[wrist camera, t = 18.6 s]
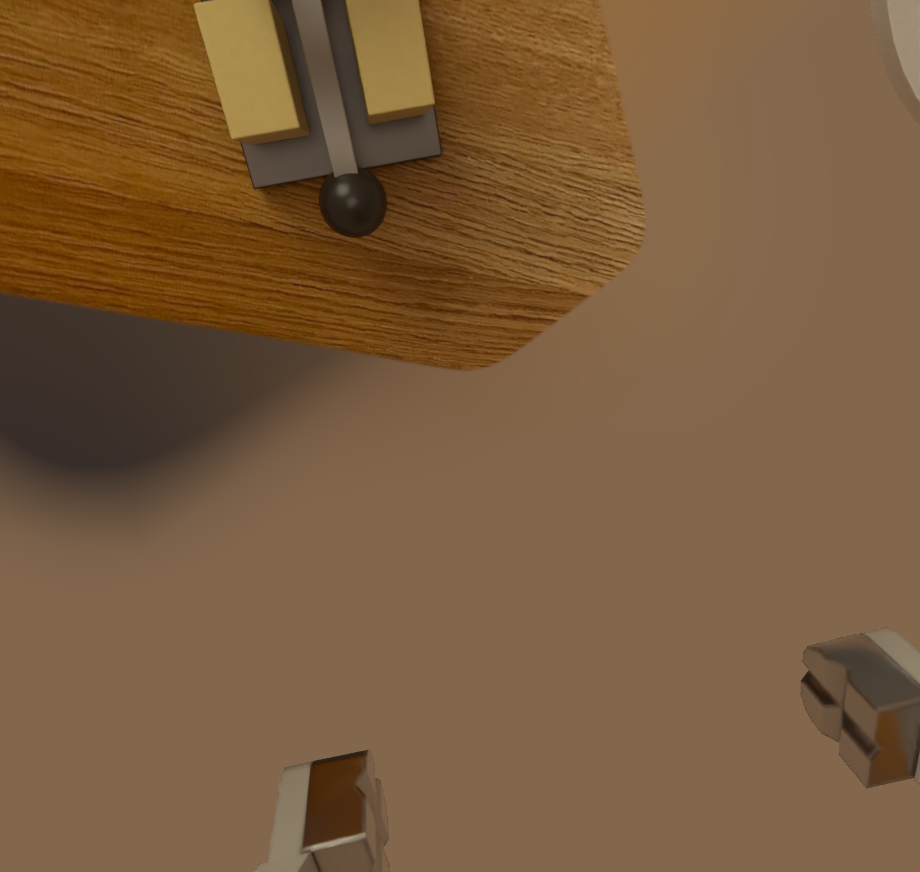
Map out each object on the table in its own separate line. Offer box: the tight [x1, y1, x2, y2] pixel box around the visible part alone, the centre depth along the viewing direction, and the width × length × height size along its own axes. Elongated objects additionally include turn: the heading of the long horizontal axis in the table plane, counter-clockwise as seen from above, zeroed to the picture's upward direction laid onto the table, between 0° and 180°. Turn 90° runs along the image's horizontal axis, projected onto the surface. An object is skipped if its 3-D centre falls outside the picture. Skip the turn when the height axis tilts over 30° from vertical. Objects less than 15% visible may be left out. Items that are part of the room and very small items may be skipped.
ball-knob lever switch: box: [291, 0, 387, 238], centre depth 26 cm, size 15×3×3 cm, turn 10°
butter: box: [194, 0, 435, 145], centre depth 28 cm, size 9×5×5 cm, turn 99°
